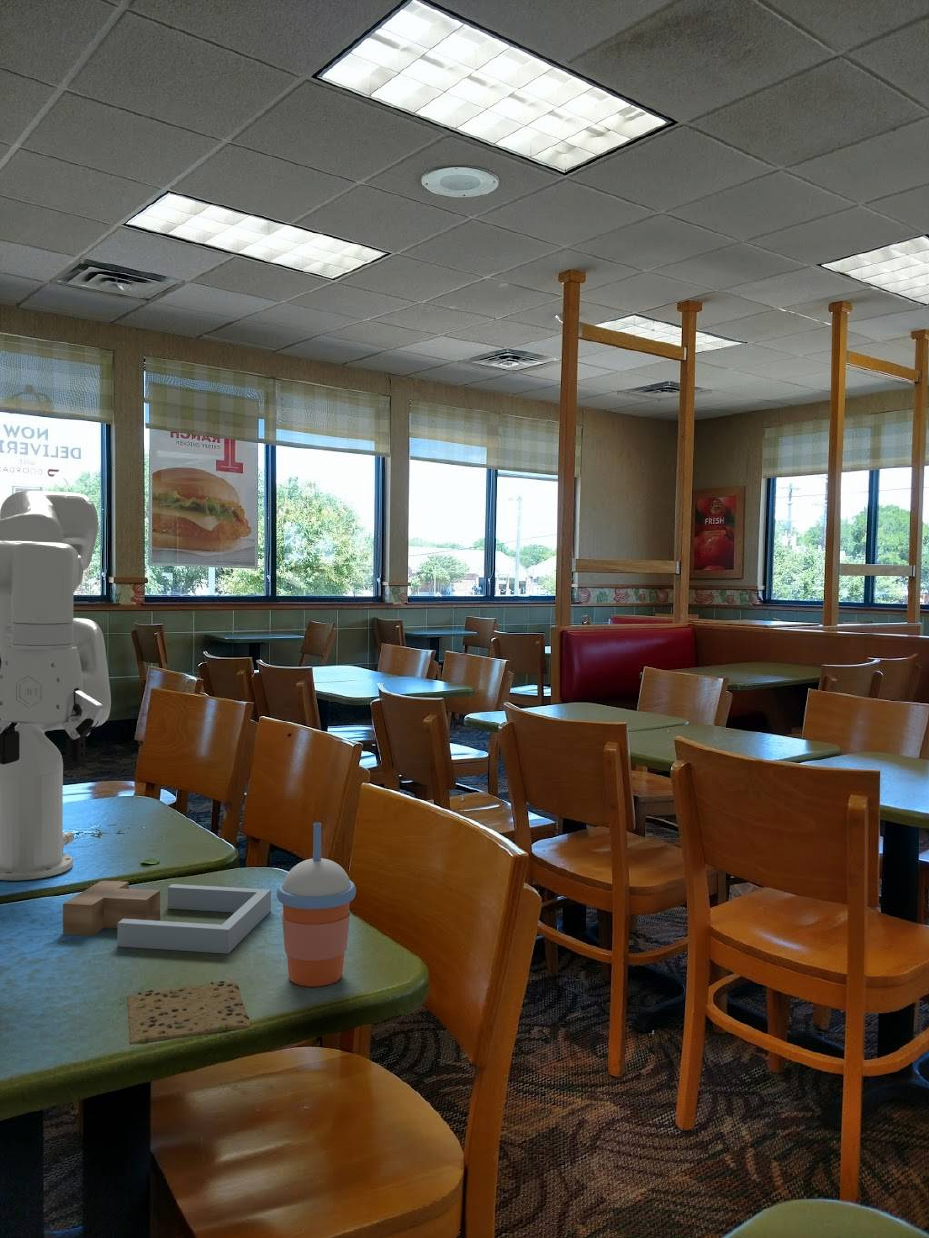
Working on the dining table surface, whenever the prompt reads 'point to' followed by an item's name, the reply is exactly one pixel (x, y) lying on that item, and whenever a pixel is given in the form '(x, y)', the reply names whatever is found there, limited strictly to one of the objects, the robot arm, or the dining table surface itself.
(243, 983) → the dining table surface
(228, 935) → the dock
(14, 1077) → the dining table surface
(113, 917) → the t block
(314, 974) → the cup with straw
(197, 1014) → the cookie
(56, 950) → the dining table surface
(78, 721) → the robot arm
